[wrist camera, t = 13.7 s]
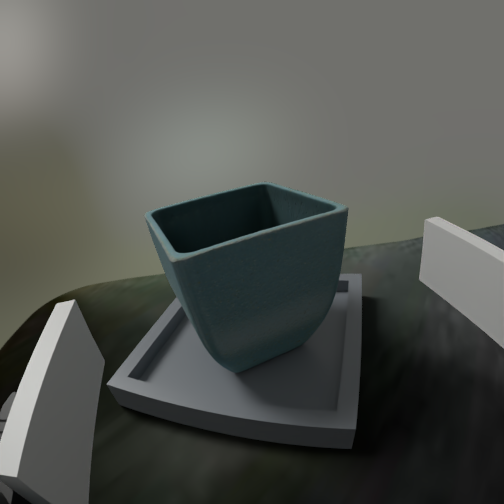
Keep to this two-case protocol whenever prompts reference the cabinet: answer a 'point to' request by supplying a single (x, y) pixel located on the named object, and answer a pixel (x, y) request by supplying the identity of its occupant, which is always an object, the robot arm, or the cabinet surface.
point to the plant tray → (253, 380)
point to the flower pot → (252, 267)
